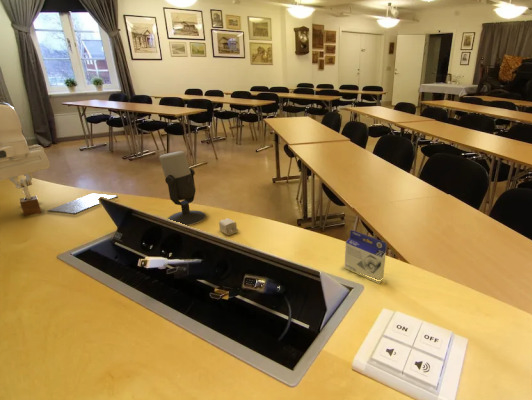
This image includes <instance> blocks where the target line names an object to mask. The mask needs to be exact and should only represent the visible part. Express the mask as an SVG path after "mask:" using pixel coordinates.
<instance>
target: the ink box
mask: <svg viewBox="0 0 532 400" xmlns="http://www.w3.org/2000/svg"><path fill="white" fill-rule="evenodd" d="M349 231H350V232H349V238H348V239H347V240H346V241H345V250H344V264H343V265H344V269H346V270H348V271H349V272H352V273H354V274H356V275H359V276H360V277H363V278H365V279H367V280H369V281H371V282H373V283H376V284H378V285H380V284H381V283H382V282H383V281H384V276H385V267H386V255H387V247H388V243H387V242H386V241H384V240H380V239H377V238H375V237H372V236H370V235H368V234H364V233H361V232H359V231H356V230H354V229H350V230H349ZM367 240H368V241H367ZM360 273H361V274H360ZM363 274H364V275H363ZM365 275H367V276H369V277H372V278H375V279H377V280H381V279H382V278H383V279H382V280H381V281H376V280H374V279H372V278H369V277H367V276H365Z"/></svg>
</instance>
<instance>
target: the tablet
mask: <svg viewBox="0 0 532 400" xmlns="http://www.w3.org/2000/svg"><path fill="white" fill-rule="evenodd" d="M100 197H104V198H107V199H110V200H109V201H111V200H113V199H118V195H112V194H103V193H90V194H86V195H84V196H81V197H79V198H76V199H74V200H71V201H68V202H65V203H64V204H61V205H58V206H56V207H53V208H50V209H48V210H47V212H49V213H56V214H58V213H59V214H67V215H75V216H76V215H78V214H80V213H83V212H86V211H88V210H90V209H92V208H94V207H97V206H99V205H101V204H100V203H99V200H98V199H99V198H100Z"/></svg>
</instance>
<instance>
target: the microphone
mask: <svg viewBox="0 0 532 400" xmlns="http://www.w3.org/2000/svg"><path fill="white" fill-rule="evenodd" d="M158 159H159V162H160V165H161V169H162V173H163V175H164V178H165V179H164V180H165V181H164V182H165V183H166V185H167V187H168V194H169V199H170V200H171V202H172V203H173V204H174V205H177V206H180V208H181V211H179V212H176V213H174V214H172V215H169V217H168V218H167V220H168V219H170V220H173V221H176V222H180V223H182V224H185V225H188V226H189V227H190V226H193V225H197V224H199V223H201V222H203V221H204V220H205V219H206V213H205V212H203V211H201V210H190V204H191V203H193V201H194V200H195V196H196V191H197V190H196V184H195V179H194V178H195V174H196V172H195V170H194V169H193V168H190V165H189V162H188V158H187V156H186V152H185V151H183V150H179V151H173V152H168V153H165V154H160V156H159V157H158ZM188 226H187V227H188Z"/></svg>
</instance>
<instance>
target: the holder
mask: <svg viewBox="0 0 532 400" xmlns="http://www.w3.org/2000/svg"><path fill="white" fill-rule="evenodd" d="M31 198H32V199H31V200H27V199H26V197H21V198H19V203H20V207H21V209H22V212H23V215H24V217H27V216H31V215H32V216H33V215H38V214H42V208H41V204H40V202H39V199H38V196H37V195H33V196H32V195H31Z"/></svg>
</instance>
